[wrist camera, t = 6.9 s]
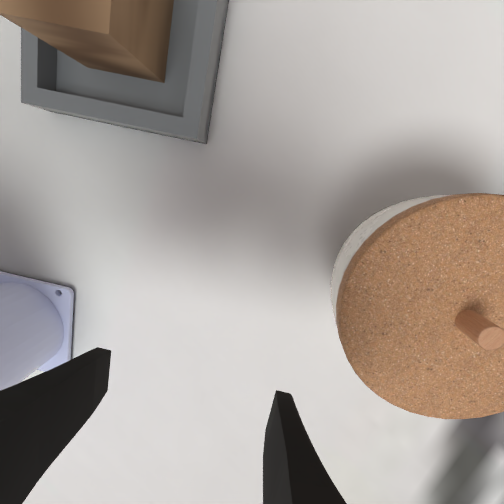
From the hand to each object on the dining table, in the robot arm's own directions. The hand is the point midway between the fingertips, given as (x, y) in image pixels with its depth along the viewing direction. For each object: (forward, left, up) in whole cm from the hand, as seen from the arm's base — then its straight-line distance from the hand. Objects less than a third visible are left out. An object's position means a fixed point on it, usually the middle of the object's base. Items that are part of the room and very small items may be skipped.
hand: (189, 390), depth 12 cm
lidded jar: (+11, +5, -10) cm, 16 cm away
